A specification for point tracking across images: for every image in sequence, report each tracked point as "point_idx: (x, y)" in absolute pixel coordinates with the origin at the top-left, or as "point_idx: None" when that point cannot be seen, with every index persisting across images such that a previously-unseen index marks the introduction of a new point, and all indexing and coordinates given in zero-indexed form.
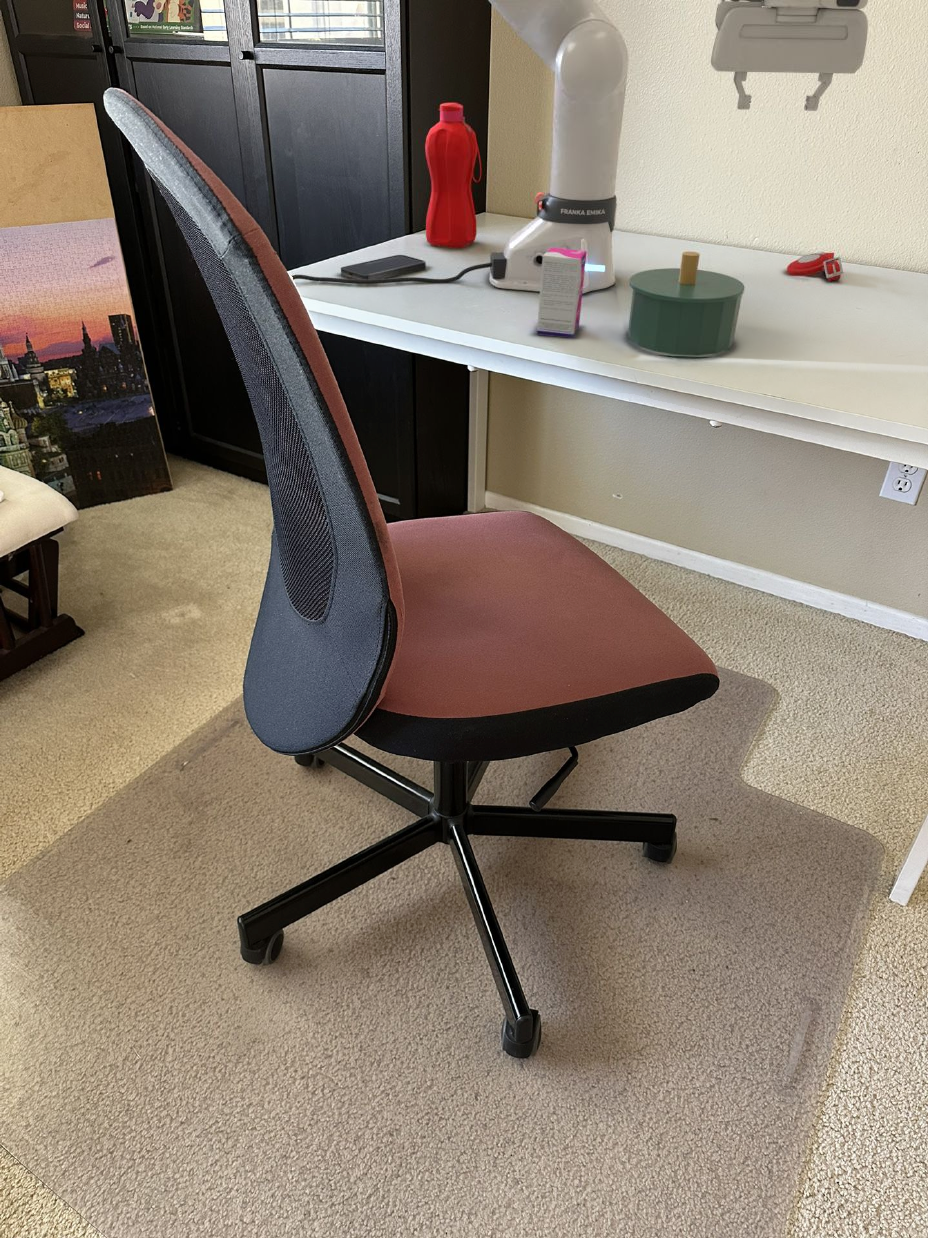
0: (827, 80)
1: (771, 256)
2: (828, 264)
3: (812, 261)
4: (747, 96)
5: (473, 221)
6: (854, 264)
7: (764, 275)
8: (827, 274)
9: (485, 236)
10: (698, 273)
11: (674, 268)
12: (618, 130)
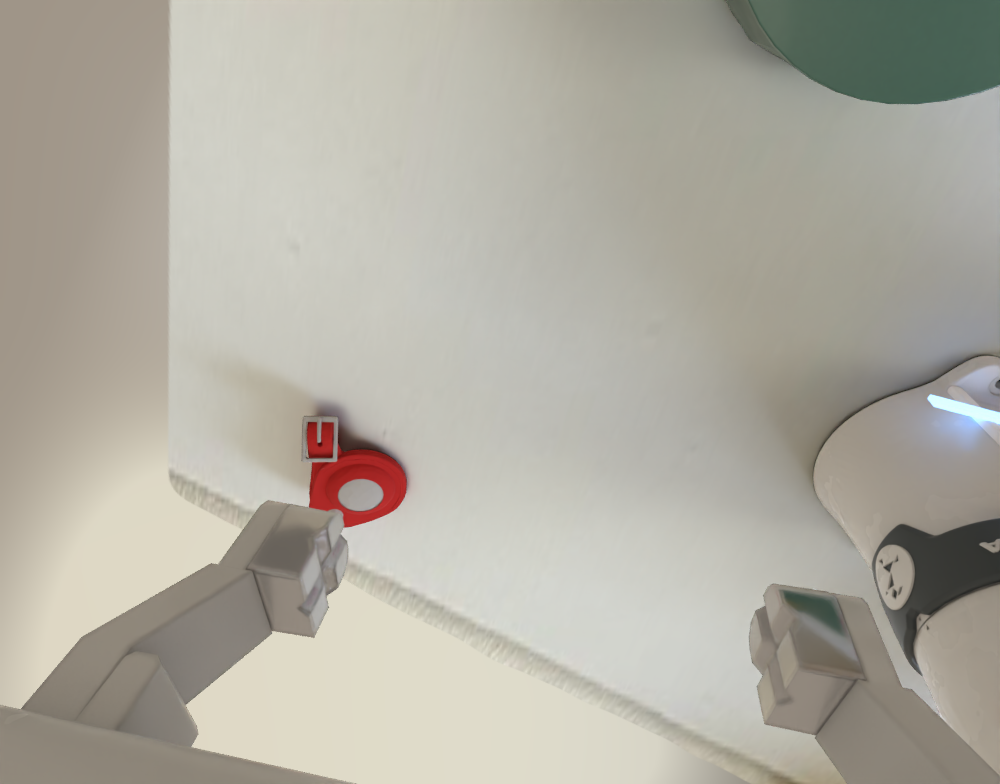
0: (103, 659)
1: (417, 573)
2: (328, 448)
3: (357, 476)
4: (836, 663)
5: None
6: None
7: (454, 474)
8: (335, 423)
9: None
10: (857, 17)
11: (918, 99)
12: None
